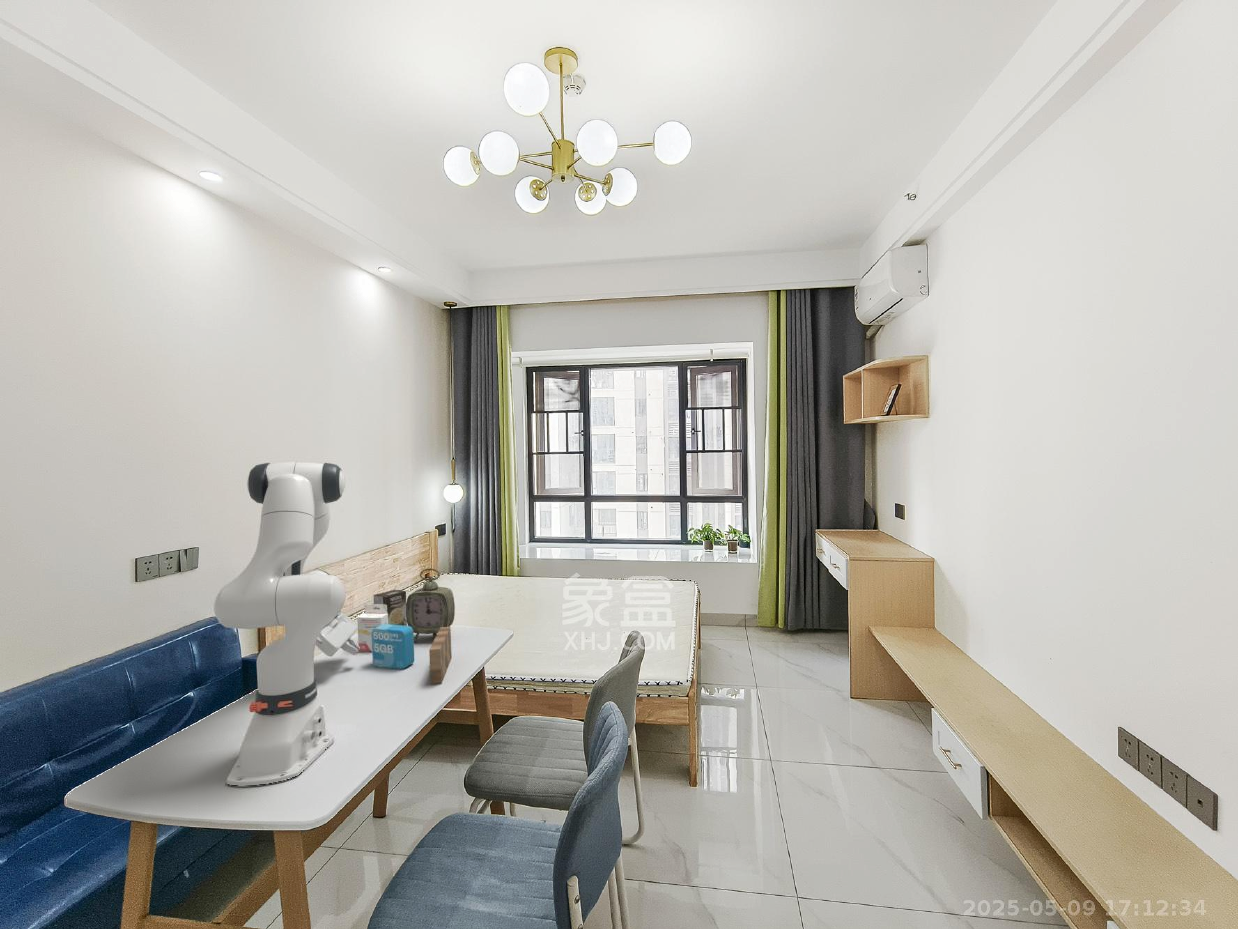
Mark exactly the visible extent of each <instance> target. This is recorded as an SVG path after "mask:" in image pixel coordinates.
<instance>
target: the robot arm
mask: <svg viewBox="0 0 1238 929" xmlns="http://www.w3.org/2000/svg"><path fill="white" fill-rule="evenodd" d="M246 487H247V492H248V493H249V496H250V498H251V499H252V500H253V501H254V502H256V503H258V504H262V507H261V515H260V524H259V532H258V534H259V535H258V539H257V544H256V549H255V552H254V553H253V556H252V558H251V560H250V562H249V564H247V566H246V567H245V568H244V570H243V571H242V572H241V573H240V574H239V575H238V576H236V578H234V579H233V580H232V581H230V582H228V583H227V584H225V585H224V586H223V587H222V588H221V589H220V591H219V592H218V593H217V596H216V597H215V600H214V604H213V610H214V615H215V617H216V619H217V621H218V623H220V624H221V626H223V627H224V628H229V629H241V630H243V629H244V630H251V629H252V630H253V629H254V630H255V629H261V628H262V629H263V628H271V627H285V634H284V635H283V636H281V637H280V638H278V639H276V640H274V641H272V642H270V643H269V644H267V645H266V646H265V647H264V648H263V649H262V650H260V652H259V653H258V656H257V657H256V675H257V677H256V679H257V680H256V681H257V690H256V692H255V697H254V701H251V702H250V704H249V709H248V710H249V712H250V713H253V716H252V718H251V720H250V722H249V725H248V728H247V730H246V733H245V735H244V737H243V741H242V742H241V746H240V749H239V756H238V757H237V759H236V761H235V763H234V765H233V767H232V769H231V771H230V772H229V774H228V775H227V778H226V784H227V785H228V784H231V785H238V786H237V787H246V786H245V785H257V786H259V785H258V784H266V785H270V784H269V783H272V784H274V783H273V782H276V781H282V780H284V779H288V778H292V777H295V776H297V775H299V774H300V773H301V772H302V773H303V772H304V771H306V769H307V768H309V766H311V765H312V763H314V762H315V760H316V759H318V758H319V756H321V755H322V754H323V753H324V752H325V751H326V750H327V749H328V748H329V747H330V746H331V745H332V744H333V743H334V742H335V736H334V735H332V734H329V733H328V727H327V719H326V709H325V706H324V705H323V704H322V703H321V702H320V701H319V700H318V698H317V696H318V684H317V679H316V678H315V669H314V668H315V665H314V661H315V660H314V659H315V648H316V647H317V648H318V649H319V650H320V651H321V652H322V653H324V654H325V655H326V656H328V657H331V658H332V657H333V656H334V655H335V654H336V653H337V652H338V651H339V650H340V649H341V650H343V651H344V652H345V651H346V652H348V653H350V654H351V655H353V656H356V654H357V653H358V652H359V649H360V647H359V646H358V644H357V643H356V641H355V639H354V638H353V637H352V636H353V635H354V634H355V633H356V632H357V631H358V624H356V623H355V622H354V621H353V620H352V619H351V618H350V617H349V616H347V614H345V613H343V607H344V605H345V601H346V589H345V586H344V584H343V582H342V581H341V579H339V577H338V576H336V575H332V574H330V573H329V572H327V571H325V570H321V569H313V570H311V571H310V572H308V573H305V574H304V565H305V564H306V560H307V559H308V557H309V556H310V553H311V552H312V551H313V550H314V549H315V547H317V545H318V544H319V543H320V541H321V540H322V539H323V538H324V537H325V535H326V534H328V531H329V530H328V529H329V527H330V526H329V525H330V519H331V518H330V517H331V516H330V507H329V504H330V503H334V502H337V501H338V500H340V498H342V496H343V494H344V491H345V488H346V478H345V475H344V473H343V470H342V468H341V467H340V466H339V465H337V464H334V463H330V462H324V463H319V462H318V463H317V462H306V461H305V462H300V461H285V462H275V463H270V462H264V463H260V464H259V463H258V464H257V465H254V467H252V468H251V469H250V471H249V474H248V477H247V481H246ZM327 747H328V748H327ZM325 749H326V750H325ZM303 770H304V771H303ZM302 773H301V774H302ZM301 774H300V775H301ZM300 775H299V776H300ZM297 777H298V776H297ZM295 778H296V777H295ZM292 779H293V778H292ZM282 782H283V781H282ZM231 785H230V786H231Z"/></svg>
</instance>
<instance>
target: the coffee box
mask: <svg viewBox="0 0 1238 929" xmlns="http://www.w3.org/2000/svg"><path fill="white" fill-rule="evenodd" d="M372 595H373V604H380V605H387V613H388V624H389V625H402V626H408V624H407V617H406V603H407V591H406V590H401V589H392V590H387V591H384V592H380V593H377V594H372ZM373 609H378V610H379V609H380V608H377V607H375V608H373Z"/></svg>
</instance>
